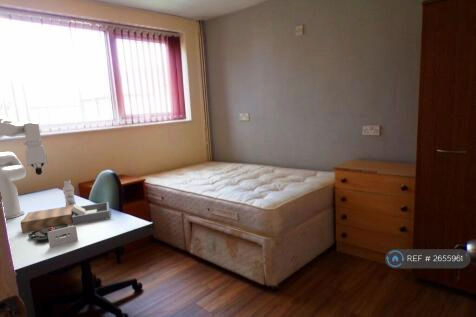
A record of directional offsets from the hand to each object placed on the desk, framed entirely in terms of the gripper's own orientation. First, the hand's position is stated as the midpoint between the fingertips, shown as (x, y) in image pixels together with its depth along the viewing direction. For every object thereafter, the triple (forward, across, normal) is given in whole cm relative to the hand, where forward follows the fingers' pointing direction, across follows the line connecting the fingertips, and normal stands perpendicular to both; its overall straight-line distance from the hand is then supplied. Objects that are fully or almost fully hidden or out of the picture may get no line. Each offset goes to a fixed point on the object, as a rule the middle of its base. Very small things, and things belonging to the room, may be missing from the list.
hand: (39, 174), depth 192 cm
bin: (+27, +26, -13) cm, 40 cm away
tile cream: (+23, +18, -13) cm, 32 cm away
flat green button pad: (+28, +8, -36) cm, 46 cm away
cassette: (+27, +15, -53) cm, 62 cm away
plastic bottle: (+27, +13, +8) cm, 31 cm away
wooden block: (+27, +4, -13) cm, 30 cm away
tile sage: (+24, +25, -13) cm, 37 cm away
